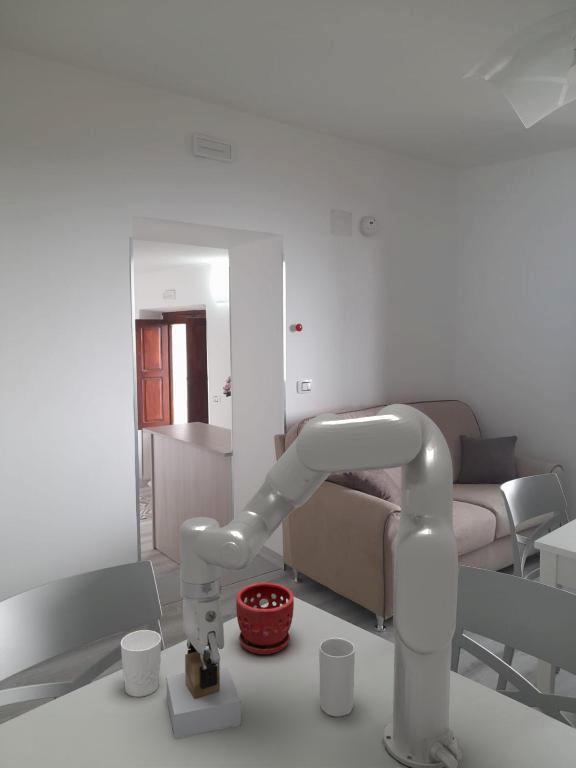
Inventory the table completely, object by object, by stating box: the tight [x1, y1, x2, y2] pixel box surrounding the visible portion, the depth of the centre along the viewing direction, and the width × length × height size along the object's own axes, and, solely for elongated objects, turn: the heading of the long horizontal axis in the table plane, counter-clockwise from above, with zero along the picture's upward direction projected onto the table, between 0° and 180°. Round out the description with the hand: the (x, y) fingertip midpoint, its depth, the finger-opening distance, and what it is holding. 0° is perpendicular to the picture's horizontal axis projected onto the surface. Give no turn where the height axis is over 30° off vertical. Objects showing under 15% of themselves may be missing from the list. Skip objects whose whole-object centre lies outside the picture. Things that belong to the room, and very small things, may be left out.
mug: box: [318, 637, 356, 717], centre depth 114 cm, size 10×7×12 cm, turn 172°
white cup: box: [120, 629, 162, 698], centre depth 118 cm, size 8×8×10 cm
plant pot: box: [235, 582, 295, 655], centre depth 134 cm, size 13×13×12 cm
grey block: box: [165, 664, 242, 740], centre depth 111 cm, size 12×12×5 cm
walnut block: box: [184, 647, 221, 699], centre depth 111 cm, size 5×5×6 cm
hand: (202, 676), depth 111 cm, fingers open, 5 cm apart
